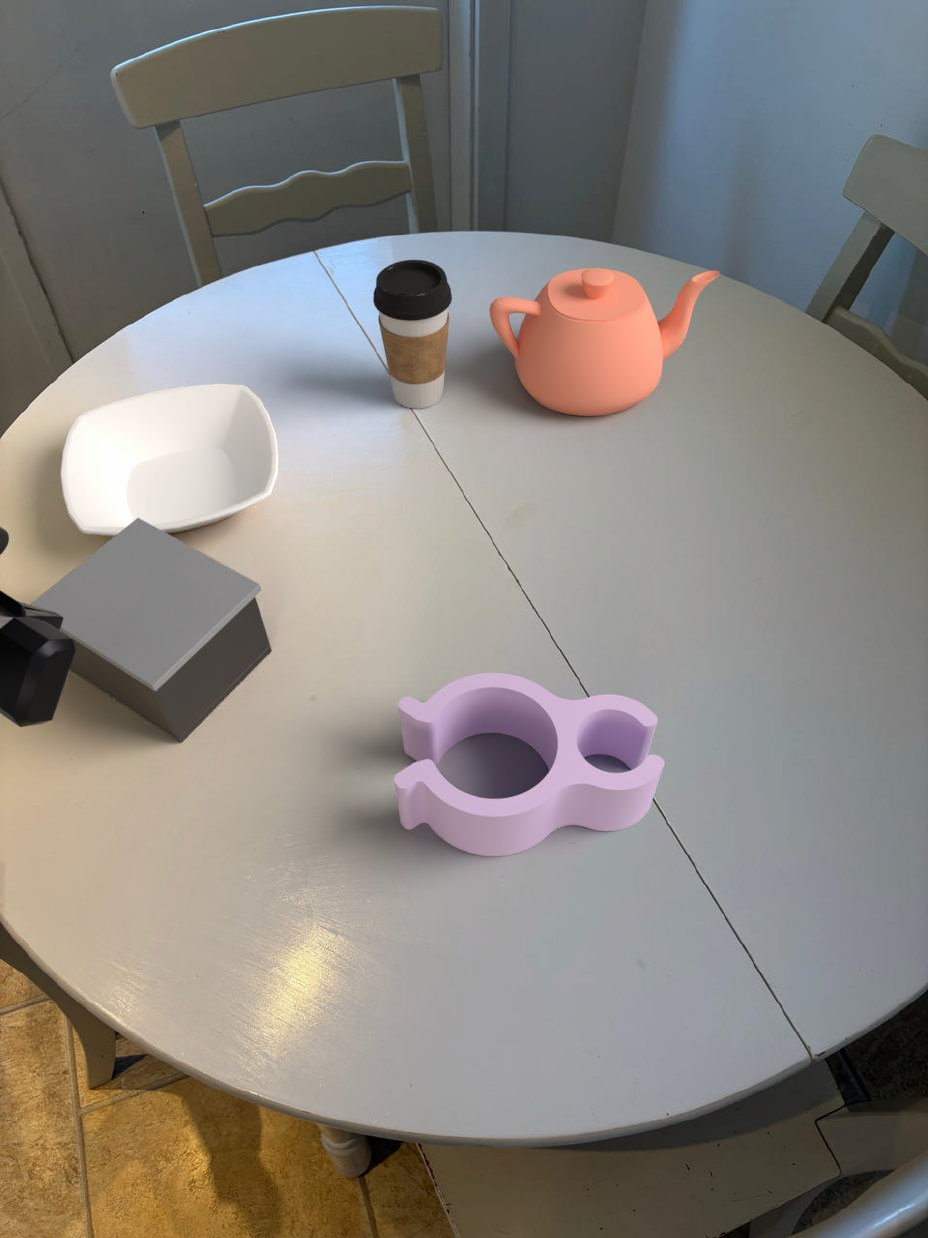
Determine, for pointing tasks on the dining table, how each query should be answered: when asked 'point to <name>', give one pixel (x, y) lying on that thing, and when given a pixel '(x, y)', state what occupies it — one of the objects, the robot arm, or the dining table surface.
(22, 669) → the robot arm
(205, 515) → the bowl
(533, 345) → the teapot
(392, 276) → the coffee cup
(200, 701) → the grey hinged lid box
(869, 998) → the dining table surface
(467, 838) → the clip
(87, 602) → the box lid
